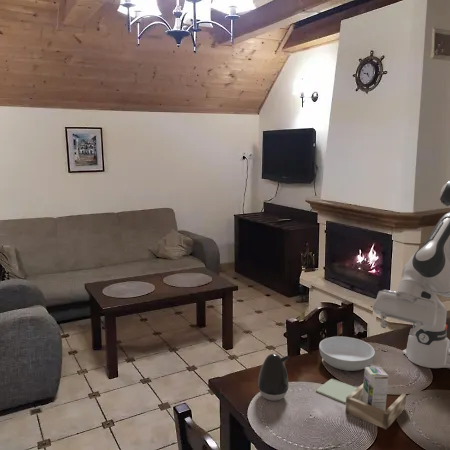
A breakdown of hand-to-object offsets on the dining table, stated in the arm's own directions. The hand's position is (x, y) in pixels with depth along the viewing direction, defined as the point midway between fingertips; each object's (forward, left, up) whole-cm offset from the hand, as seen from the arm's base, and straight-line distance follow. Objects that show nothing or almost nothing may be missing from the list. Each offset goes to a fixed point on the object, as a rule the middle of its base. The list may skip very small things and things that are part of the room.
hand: (397, 330), depth 150 cm
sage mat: (+8, -16, -24) cm, 30 cm away
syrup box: (+12, -1, -24) cm, 27 cm away
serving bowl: (-12, -23, -24) cm, 35 cm away
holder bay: (+11, -1, -24) cm, 26 cm away
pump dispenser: (+26, -30, -24) cm, 47 cm away
